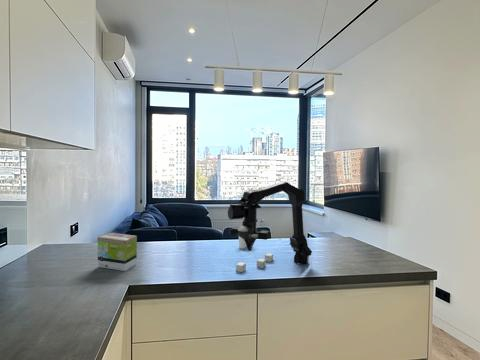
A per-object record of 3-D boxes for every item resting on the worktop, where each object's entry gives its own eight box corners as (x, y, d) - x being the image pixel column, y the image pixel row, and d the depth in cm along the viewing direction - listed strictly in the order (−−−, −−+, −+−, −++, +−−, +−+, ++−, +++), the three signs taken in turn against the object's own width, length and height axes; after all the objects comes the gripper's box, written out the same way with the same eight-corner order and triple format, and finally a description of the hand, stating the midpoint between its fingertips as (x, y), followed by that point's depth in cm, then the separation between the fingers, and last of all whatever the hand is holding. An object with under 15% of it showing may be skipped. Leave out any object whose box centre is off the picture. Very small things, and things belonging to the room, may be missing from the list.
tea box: (96, 268, 149) (96, 237, 148) (110, 261, 159) (110, 232, 157) (125, 271, 145) (125, 240, 144) (137, 264, 155) (137, 234, 154)
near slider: (245, 269, 149) (245, 263, 149) (241, 272, 146) (242, 265, 145) (239, 268, 150) (240, 262, 150) (235, 270, 147) (236, 264, 147)
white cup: (253, 248, 187) (254, 232, 186) (241, 249, 184) (241, 233, 183) (248, 245, 194) (248, 229, 194) (236, 246, 192) (236, 229, 191)
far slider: (272, 259, 164) (273, 254, 164) (270, 261, 161) (270, 256, 160) (267, 258, 166) (267, 253, 165) (264, 260, 162) (264, 255, 162)
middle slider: (265, 265, 155) (265, 259, 155) (262, 267, 152) (262, 261, 152) (259, 264, 157) (260, 258, 156) (256, 266, 153) (256, 260, 153)
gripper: (224, 218, 143) (223, 252, 145) (262, 223, 135) (261, 259, 137) (235, 214, 153) (234, 246, 155) (271, 219, 145) (270, 252, 146)
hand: (249, 251), depth 148 cm, fingers closed
